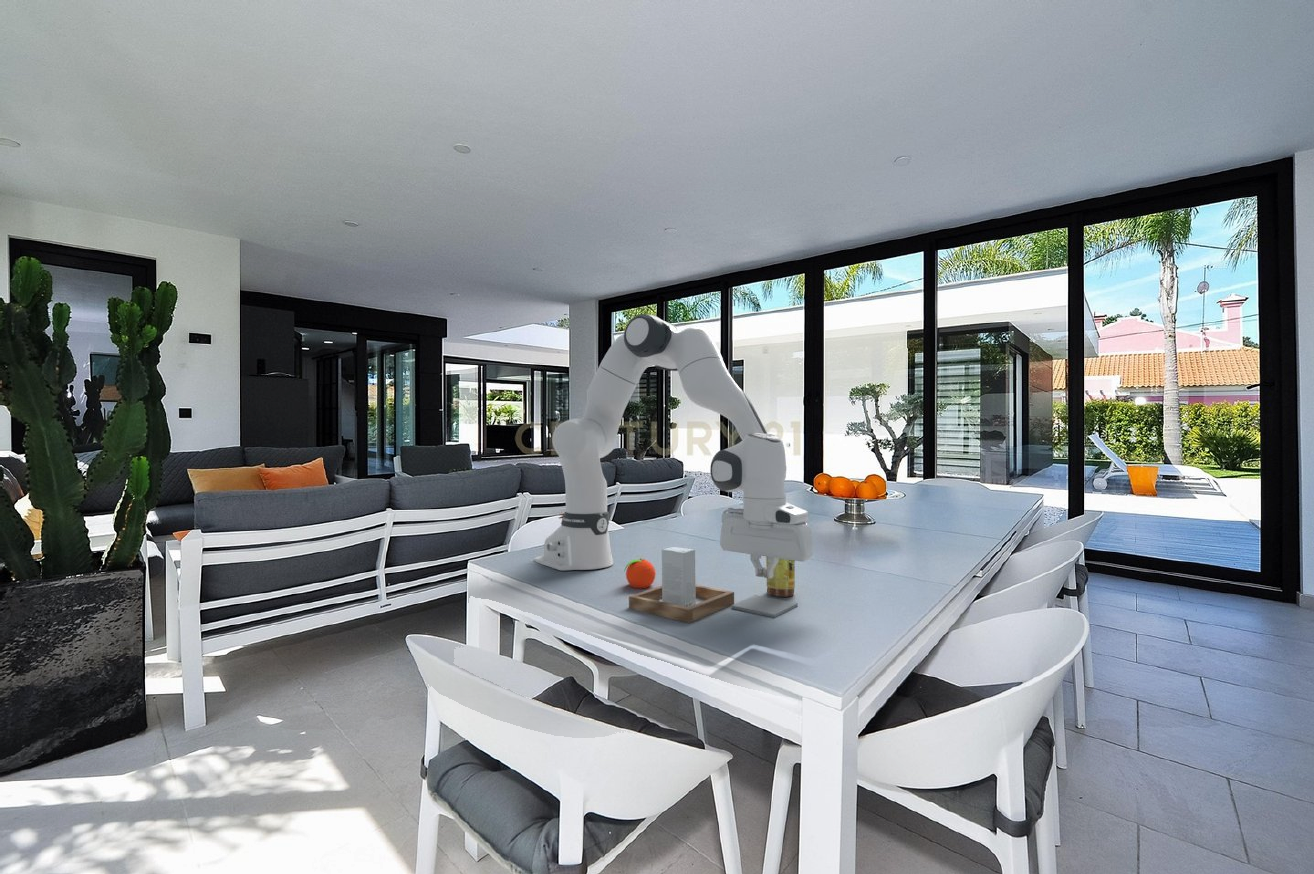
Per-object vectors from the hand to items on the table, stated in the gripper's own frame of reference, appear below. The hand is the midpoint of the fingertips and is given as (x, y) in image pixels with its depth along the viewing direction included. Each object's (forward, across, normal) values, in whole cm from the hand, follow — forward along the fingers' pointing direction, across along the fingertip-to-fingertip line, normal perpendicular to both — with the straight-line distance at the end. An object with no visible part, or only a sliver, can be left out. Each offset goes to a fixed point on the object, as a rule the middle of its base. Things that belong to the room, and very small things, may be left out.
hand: (764, 577), depth 123 cm
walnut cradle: (+6, -14, -10) cm, 18 cm away
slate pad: (+6, 0, 0) cm, 6 cm away
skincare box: (+7, -14, -10) cm, 19 cm away
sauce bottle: (+6, -2, +11) cm, 13 cm away
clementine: (+7, -30, -5) cm, 31 cm away
